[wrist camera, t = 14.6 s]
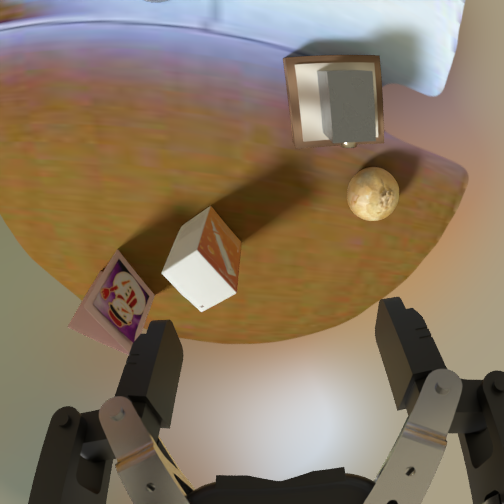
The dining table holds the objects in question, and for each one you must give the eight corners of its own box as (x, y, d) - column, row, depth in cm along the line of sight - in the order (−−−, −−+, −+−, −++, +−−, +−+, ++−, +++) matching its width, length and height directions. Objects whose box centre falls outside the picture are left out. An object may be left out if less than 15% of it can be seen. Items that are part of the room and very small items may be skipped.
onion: (385, 211, 49) (401, 233, 43) (338, 209, 49) (350, 231, 43) (394, 164, 44) (413, 181, 38) (345, 159, 44) (359, 175, 38)
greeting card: (158, 293, 58) (136, 355, 46) (130, 305, 60) (106, 364, 48) (121, 247, 53) (86, 304, 40) (93, 262, 55) (58, 317, 42)
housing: (316, 70, 34) (327, 71, 29) (356, 69, 33) (372, 71, 28) (323, 141, 39) (333, 153, 34) (360, 139, 38) (376, 151, 33)
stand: (282, 58, 37) (285, 57, 33) (369, 56, 36) (380, 55, 32) (292, 141, 43) (296, 149, 39) (374, 136, 42) (385, 144, 38)
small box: (242, 241, 52) (238, 294, 41) (211, 260, 54) (201, 314, 43) (210, 203, 49) (196, 249, 38) (180, 225, 51) (159, 274, 40)
